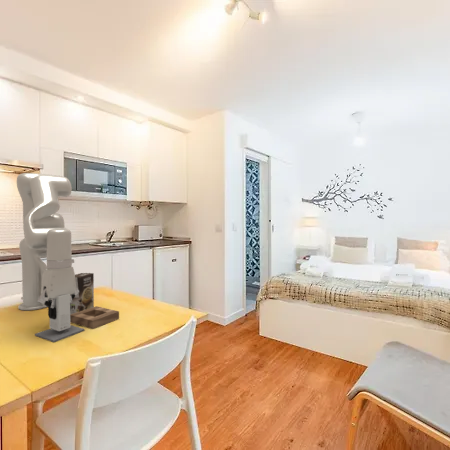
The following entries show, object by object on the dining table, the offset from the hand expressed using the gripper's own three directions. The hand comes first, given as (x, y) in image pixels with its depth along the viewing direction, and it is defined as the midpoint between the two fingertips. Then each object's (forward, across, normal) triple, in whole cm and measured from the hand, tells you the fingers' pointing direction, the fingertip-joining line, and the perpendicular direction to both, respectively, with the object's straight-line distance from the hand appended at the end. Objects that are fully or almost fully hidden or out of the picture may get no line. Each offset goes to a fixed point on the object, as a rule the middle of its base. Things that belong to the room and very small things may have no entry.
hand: (59, 315), depth 101 cm
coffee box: (+7, -18, -14) cm, 24 cm away
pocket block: (+6, -14, 0) cm, 15 cm away
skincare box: (+5, 0, 0) cm, 5 cm away
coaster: (+6, 0, 0) cm, 6 cm away
